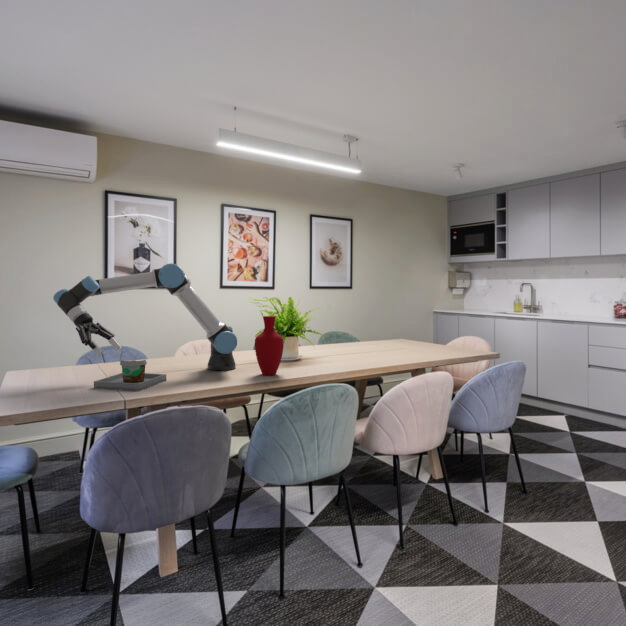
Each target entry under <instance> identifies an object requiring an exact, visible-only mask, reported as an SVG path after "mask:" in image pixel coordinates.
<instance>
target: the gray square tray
mask: <svg viewBox="0 0 626 626" xmlns="http://www.w3.org/2000/svg"><path fill="white" fill-rule="evenodd" d="M163 381H164V382H166V381H167V374H166V373H165V374H164V373H149V372H145V376H144V381H143V382H139V383H124V382H123V374H122V372H120V373H117V374H114V375H110V376H108V377H107V376H106V377H103V378H101V379H98V380H94V381H93V389H97V388H107V389H106V390H114V389H122V390H121V391H131V390H141V391H143V390H142V389H144V390H146V389H148V388H147V387H149V388H151V387H153V385H154V386H157V385H158V383H159V384H161V383H163ZM150 386H151V387H150ZM145 388H146V389H145Z"/></svg>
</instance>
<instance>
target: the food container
mask: <svg viewBox="0 0 626 626" xmlns="http://www.w3.org/2000/svg"><path fill="white" fill-rule="evenodd" d="M146 365H148V364H147V360H146V359H143V360H134V359H133V360H124V358H121V359H120V362H119V366H121V373H122V374H123V382H124V383H139V382H143V381H144V376H145V373H146Z"/></svg>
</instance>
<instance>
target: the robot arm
mask: <svg viewBox="0 0 626 626" xmlns="http://www.w3.org/2000/svg"><path fill="white" fill-rule="evenodd" d="M191 282H192V280H191V279H190V278H189V277H188V276H187V274H186V273H185V271H184V270H183V268H182V267H181V266H180V265H179V264H176V263H172V262H171V263H166V264H164V265H163V266H162V267H160V268H155V269H152V271H148V272H140V273H135V274H128V275H127V274H126V275H120V276H114V277H107V278H106V277H105V278H101V279H95V278H93V277H92V276H91V275H87V276H86V277H85V278H83V279H81V281H79V282H78V283H77V284H75V285H74V286H73V287H72V288H70V289H67V288H66V289H65V288H63V289H60V290H58V291H57V292H56V293H55V294H54V295H53V298H52V299H53V301H54V303H56V305H57V306H58V307H59V308H60V310H61V311H62V312H63V313H64V314H65V315H66V316H67V318H69V319H70V321H71V322H72V323H73V324H74V325H75V330H76V331H77V333H78V335H79V339H80V341H81V343H82V344H83V345H84V346H86V347H87V346H89V348H90V349H91V350H93V352H94V353H95V354H96V356H100V355H101V354H102V352H103V350H102V348H101V347H100V346H99V345H98V344H97V343H96V342H95V340H92V334H94V335H98V336H100V337H102V338H104V339H106V340H107V341H108V343H109V344H110V345H111V346H112V347H113V348H114V350H115V351H116V352H119V350H121V348H122V346H121V345H120V343H118V342H117V340H116V339H115V336H116V335H115V334H114V332H112V331H110V330H109V329H108V328H105V326H104V325H102V324H100V322H97V323H94V322H93V321H94V318H93V317H92V316H91V315H90V313H88V311H87V310H86V309H85V308H84V307H83V306H82V305H81V303H83V301H86V299H87V298H89V297H95V296H101V295H105V294H113V293H118V292H126V291H132V290H139V289H145V288H152V287H155V288H156V289H157V288H158V289H159V288H165V289H166V290H167V291H168V292H169V294H170V295H171V296H175V297H176V298H178V300H179V301H180V302H181V303H182V305H184V307H185V308H186V310H188V312H189V313H190V314H191V315H192V317H193V318H194V319H195V320H196V322H197V323H198V324H199V325H200V326H201V327H202V329H203V331H205V333H206V338H207V339H208V341H209V342H210V356H209V359H208V361H207V370H209V369H210V370H209V371H215V370H224V371H230V370H231V369H232V370H235V369H236V368H237V367H236V366H237V364H236V361H235V357H234V355H233V352H234V351H235V350H236V348H237V345H238V337H237V335H236V334H235V333H233V332H234V331H233V327H232V326H228V325H227V324H226V323H225V322H221V321H220V320H219V319H218V317H217V316H216V315H215V314H214V313H213V312H212V310H211V309H210V308H209V307H208V305H207V304H206V303H205V302H204V300H203V299H202V298H201V297H200V295H199V294H198V293H197V291H196V290H195V289H194V287H192V285H191ZM234 368H235V369H234Z"/></svg>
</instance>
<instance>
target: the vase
mask: <svg viewBox="0 0 626 626" xmlns="http://www.w3.org/2000/svg"><path fill="white" fill-rule="evenodd" d="M262 318H263V319H262V320H263V324H264V325H263V326H264V329H263V330H262V332H260V334H258V335H257V336H256V337H255V339H254V350H255V351H254V352H255V356H256V360H257V361H256V362H257V364H258V367H259V369H260V372H261V374H262V375H263V376H275V375H276V374H277V373H278V370H279V367H280V364H281V361H282V359H283V353H284V345H285V344H284V342H285V341H284V337H283V336H282V335H281V334H280V333H278V332H277V331H276V329H275V322H276V316H275V315H273V316H272V315H264V316H262Z"/></svg>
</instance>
